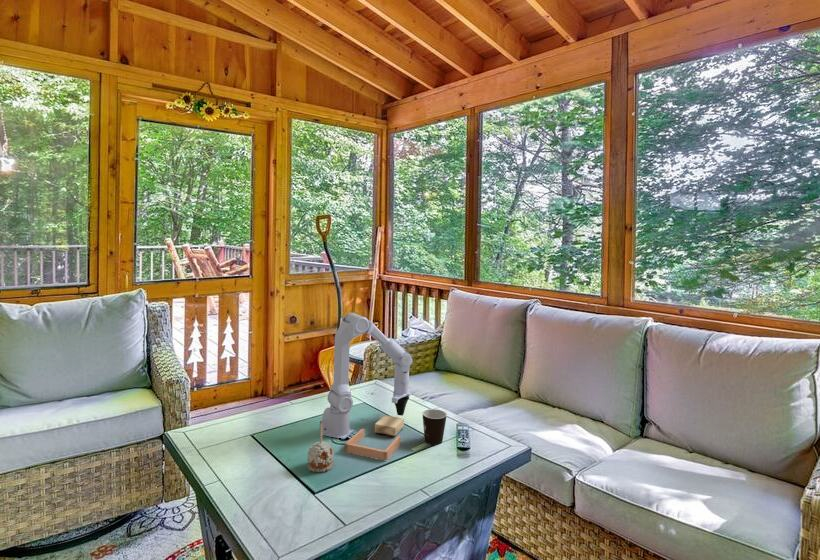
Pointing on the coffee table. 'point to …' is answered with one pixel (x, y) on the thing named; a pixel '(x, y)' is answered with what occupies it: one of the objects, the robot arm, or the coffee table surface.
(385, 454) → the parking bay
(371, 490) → the coffee table surface
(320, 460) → the decorative ornament
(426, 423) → the coffee mug
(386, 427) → the tan wooden block
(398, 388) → the robot arm
